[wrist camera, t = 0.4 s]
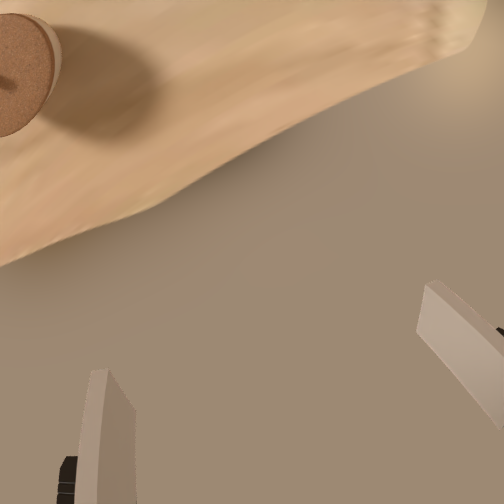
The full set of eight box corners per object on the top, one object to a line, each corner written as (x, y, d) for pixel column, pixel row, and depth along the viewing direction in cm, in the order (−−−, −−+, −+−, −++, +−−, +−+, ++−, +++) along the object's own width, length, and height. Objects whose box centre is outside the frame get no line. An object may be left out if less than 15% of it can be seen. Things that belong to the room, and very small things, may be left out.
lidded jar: (96, 46, 23) (73, 61, 16) (34, 127, 26) (2, 169, 20) (25, -8, 16) (-19, -8, 9) (-32, 78, 19) (-79, 109, 12)
